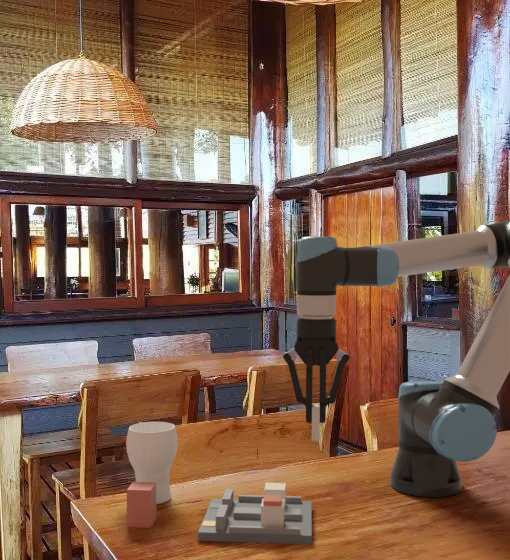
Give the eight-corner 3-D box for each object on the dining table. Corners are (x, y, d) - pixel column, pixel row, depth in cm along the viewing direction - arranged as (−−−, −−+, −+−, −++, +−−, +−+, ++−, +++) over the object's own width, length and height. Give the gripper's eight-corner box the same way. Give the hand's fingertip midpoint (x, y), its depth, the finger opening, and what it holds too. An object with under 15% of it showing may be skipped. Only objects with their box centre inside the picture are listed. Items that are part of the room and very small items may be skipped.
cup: (168, 509, 135) (168, 434, 135) (118, 505, 137) (117, 431, 137) (184, 491, 145) (184, 422, 145) (137, 488, 148) (137, 419, 147)
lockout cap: (156, 518, 130) (156, 482, 130) (150, 527, 126) (150, 490, 126) (133, 517, 131) (132, 482, 130) (127, 527, 126) (126, 489, 126)
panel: (311, 508, 135) (311, 488, 135) (311, 544, 118) (311, 521, 118) (211, 506, 137) (211, 486, 137) (198, 540, 120) (198, 518, 120)
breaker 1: (285, 503, 133) (285, 483, 133) (285, 510, 130) (285, 489, 129) (265, 502, 134) (265, 482, 134) (264, 510, 130) (264, 489, 130)
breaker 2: (284, 520, 125) (284, 494, 124) (283, 529, 121) (283, 502, 120) (262, 520, 125) (262, 494, 125) (260, 528, 121) (260, 501, 121)
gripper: (349, 315, 133) (348, 435, 134) (283, 315, 134) (282, 433, 135) (351, 319, 126) (350, 445, 126) (281, 318, 127) (280, 443, 127)
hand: (315, 439), depth 131 cm, fingers closed
